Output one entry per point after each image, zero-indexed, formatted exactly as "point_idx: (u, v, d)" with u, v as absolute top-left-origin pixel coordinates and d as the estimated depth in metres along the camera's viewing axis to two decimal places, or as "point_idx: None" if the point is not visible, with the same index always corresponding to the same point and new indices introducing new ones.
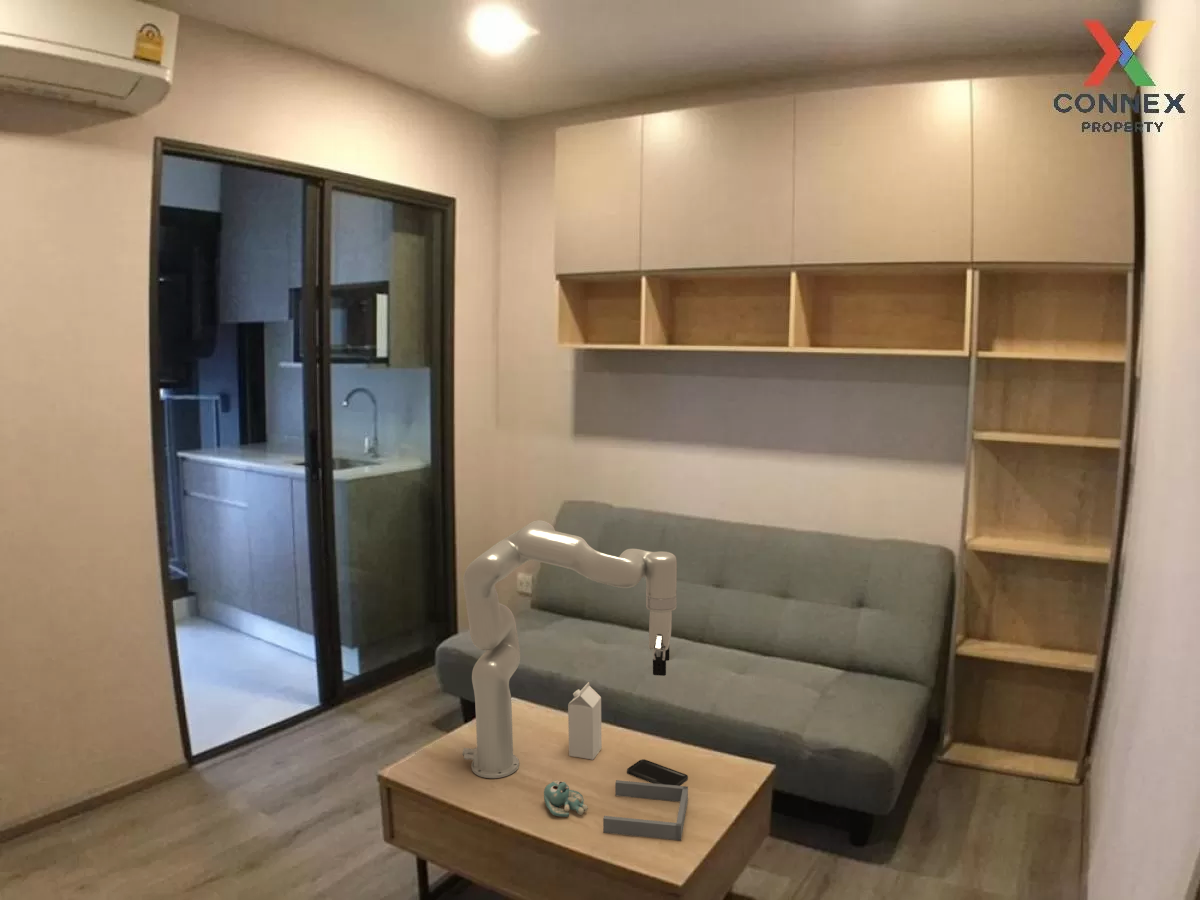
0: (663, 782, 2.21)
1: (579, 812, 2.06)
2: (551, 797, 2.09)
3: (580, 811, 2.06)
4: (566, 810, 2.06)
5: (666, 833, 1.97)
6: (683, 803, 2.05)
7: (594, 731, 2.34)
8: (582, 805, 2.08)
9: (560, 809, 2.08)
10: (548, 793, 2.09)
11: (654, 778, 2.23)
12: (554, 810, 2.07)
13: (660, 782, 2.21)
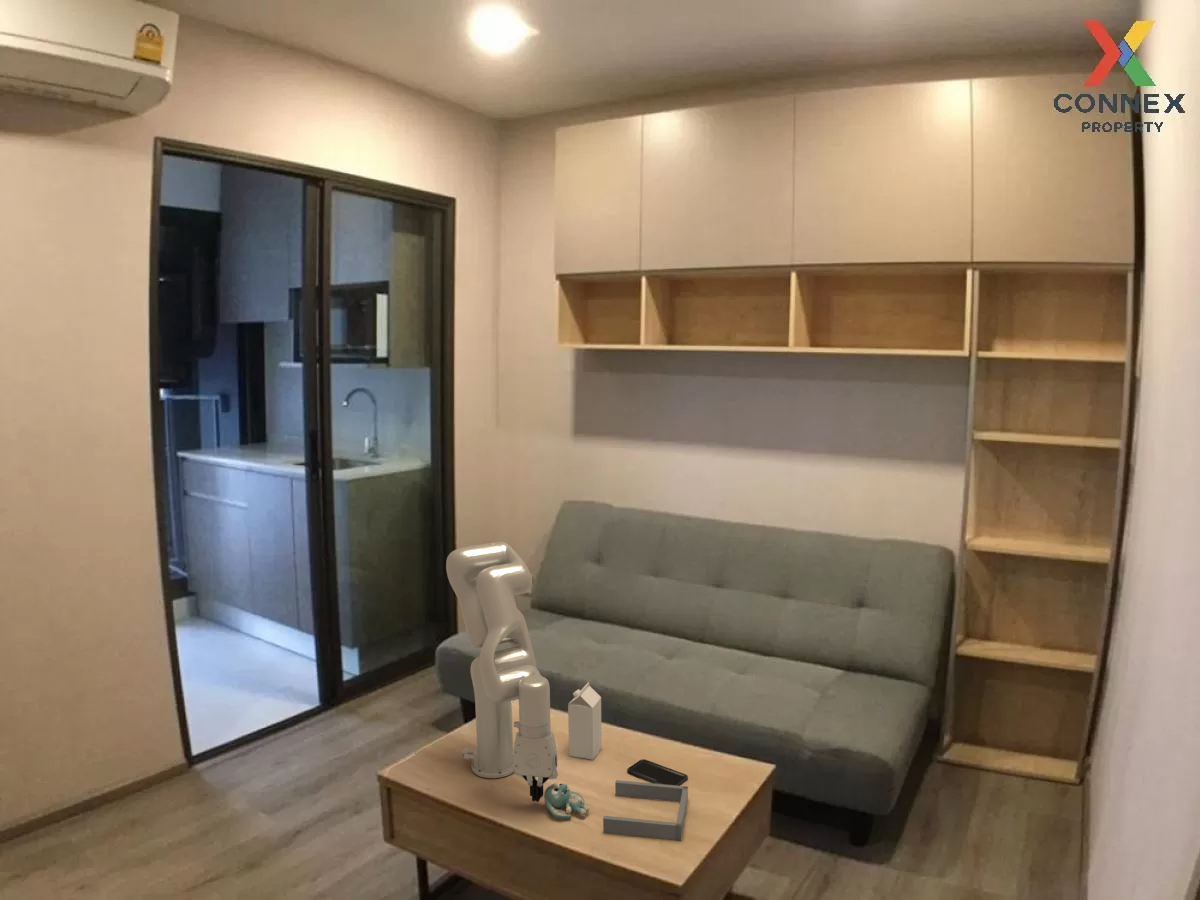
0: (663, 782, 2.21)
1: (581, 813, 2.06)
2: (552, 799, 2.07)
3: (582, 812, 2.05)
4: (568, 812, 2.06)
5: (666, 833, 1.97)
6: (683, 803, 2.05)
7: (594, 731, 2.34)
8: (584, 806, 2.07)
9: (562, 811, 2.07)
10: (549, 795, 2.08)
11: (654, 778, 2.23)
12: (556, 812, 2.06)
13: (660, 782, 2.21)
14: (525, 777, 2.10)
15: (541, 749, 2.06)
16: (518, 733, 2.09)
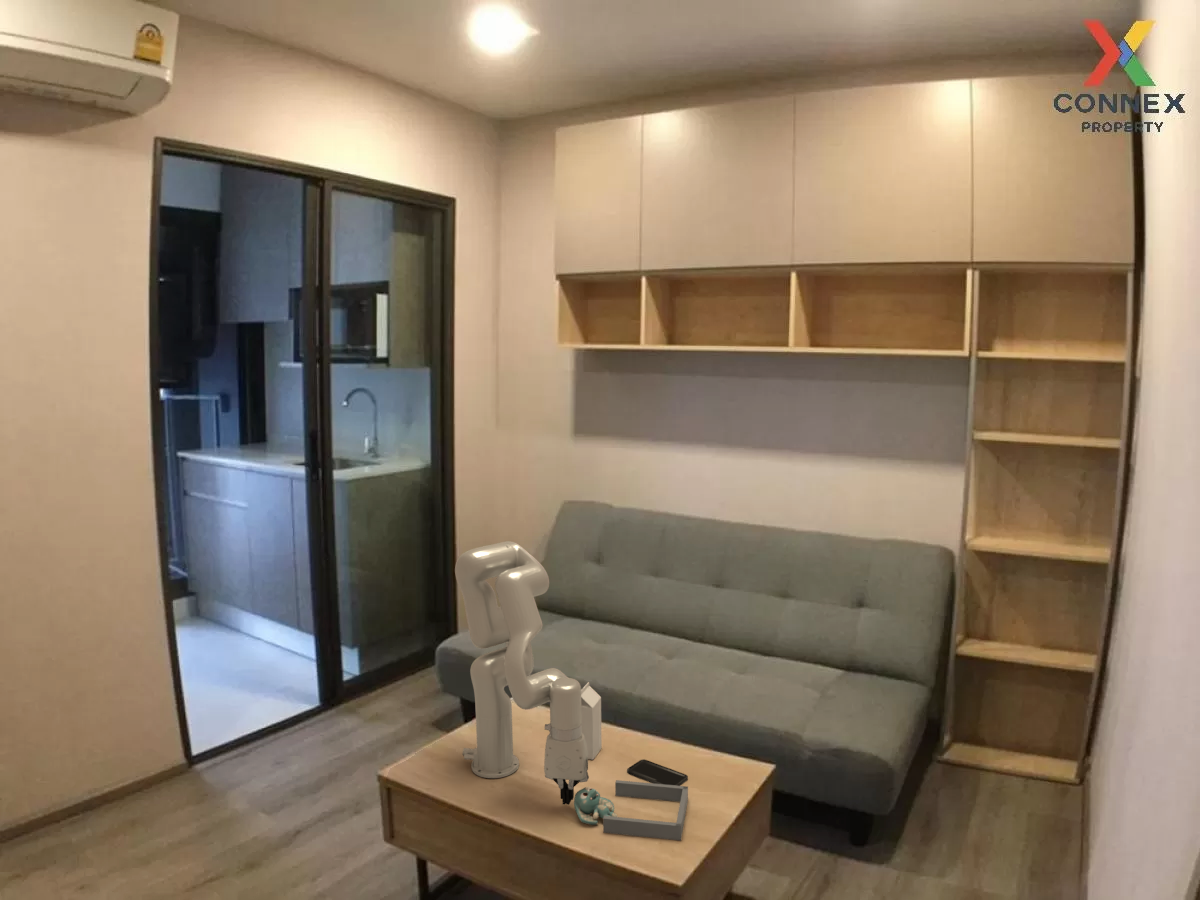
0: (663, 782, 2.21)
1: None
2: (580, 804, 2.05)
3: None
4: (595, 818, 2.03)
5: (666, 833, 1.97)
6: (683, 803, 2.05)
7: (594, 731, 2.34)
8: (611, 814, 2.04)
9: (589, 816, 2.05)
10: (578, 799, 2.06)
11: (654, 778, 2.23)
12: (583, 817, 2.03)
13: (660, 782, 2.21)
14: (556, 780, 2.09)
15: (572, 752, 2.05)
16: (549, 736, 2.08)
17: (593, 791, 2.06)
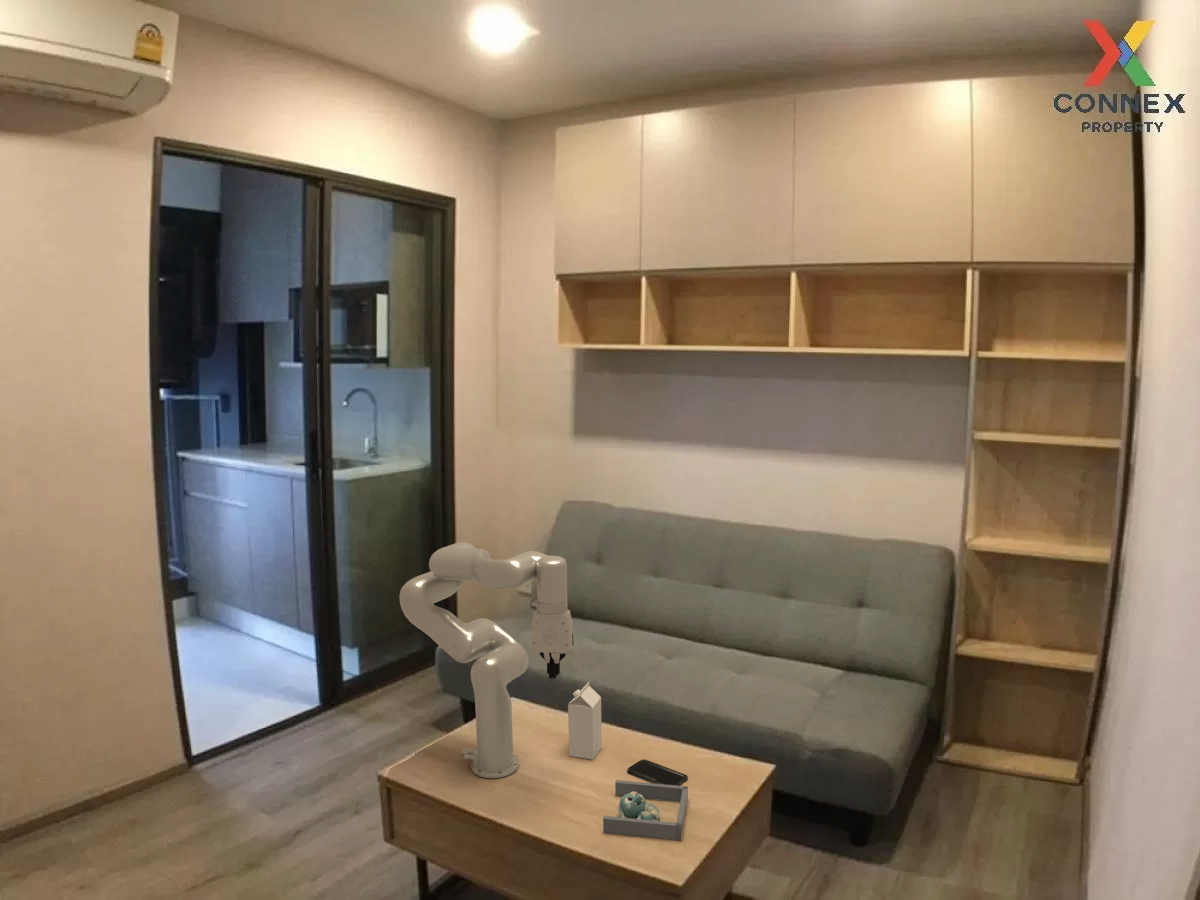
0: (663, 782, 2.21)
1: None
2: (624, 808, 2.03)
3: None
4: None
5: (666, 833, 1.97)
6: (683, 803, 2.05)
7: (594, 731, 2.34)
8: None
9: None
10: (622, 804, 2.04)
11: (654, 778, 2.23)
12: None
13: (660, 782, 2.21)
14: (542, 655, 2.16)
15: (558, 625, 2.12)
16: (536, 611, 2.15)
17: (637, 797, 2.03)
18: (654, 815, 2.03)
